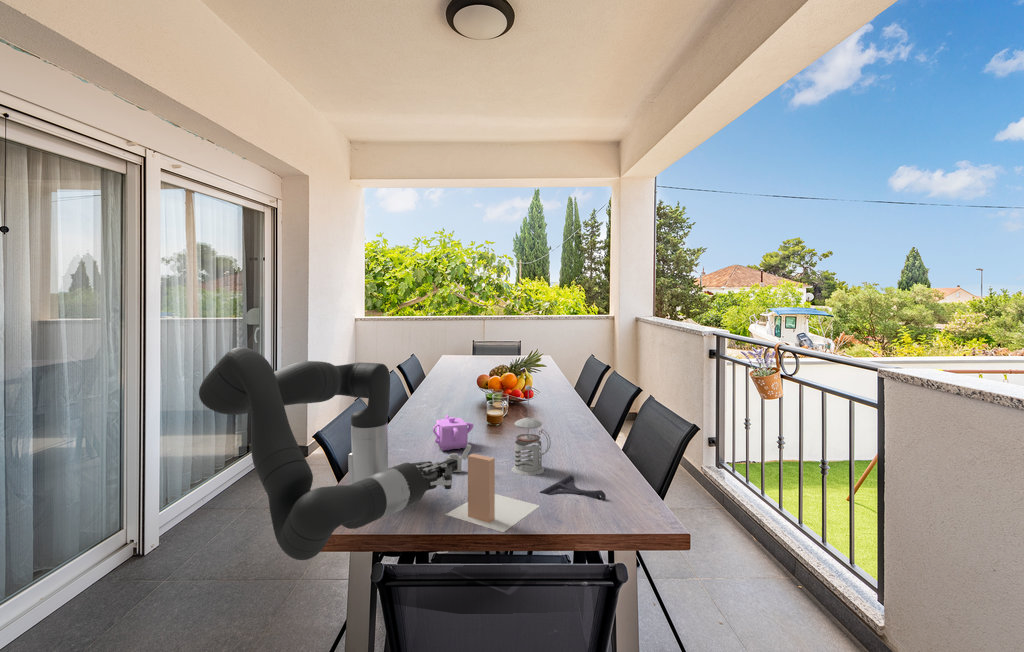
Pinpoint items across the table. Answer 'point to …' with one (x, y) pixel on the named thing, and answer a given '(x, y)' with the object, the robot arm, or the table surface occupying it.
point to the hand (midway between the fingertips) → (455, 463)
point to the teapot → (452, 433)
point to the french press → (528, 447)
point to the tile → (481, 487)
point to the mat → (498, 513)
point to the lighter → (458, 458)
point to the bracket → (572, 489)
